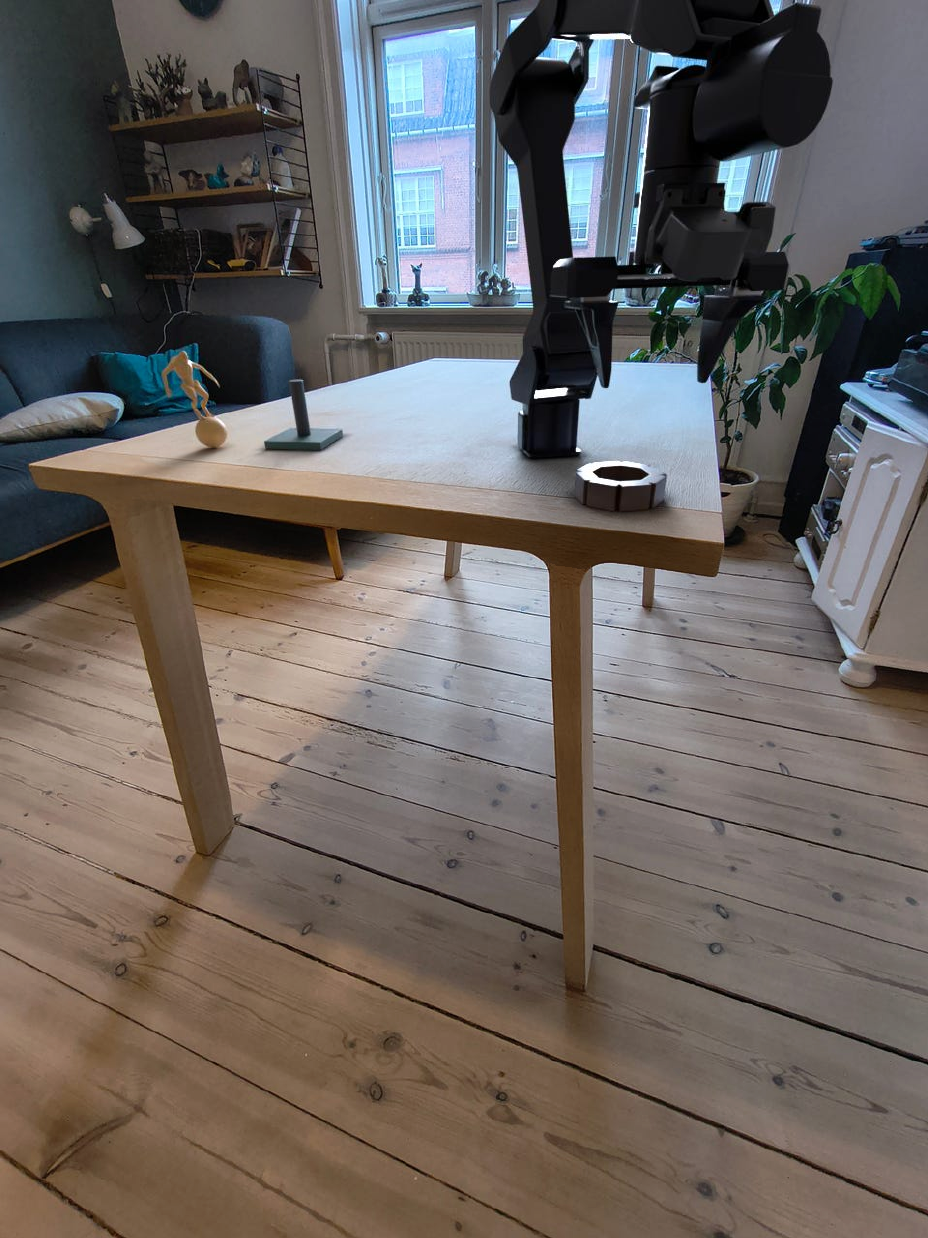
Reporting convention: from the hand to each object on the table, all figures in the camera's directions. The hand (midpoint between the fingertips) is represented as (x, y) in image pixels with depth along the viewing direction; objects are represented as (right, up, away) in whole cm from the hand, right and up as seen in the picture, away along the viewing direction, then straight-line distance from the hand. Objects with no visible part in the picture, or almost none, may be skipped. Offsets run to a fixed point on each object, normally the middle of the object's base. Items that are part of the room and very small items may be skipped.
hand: (653, 385), depth 54 cm
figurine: (-52, +2, +28) cm, 59 cm away
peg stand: (-39, +3, +28) cm, 48 cm away
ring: (-2, -9, +5) cm, 10 cm away
